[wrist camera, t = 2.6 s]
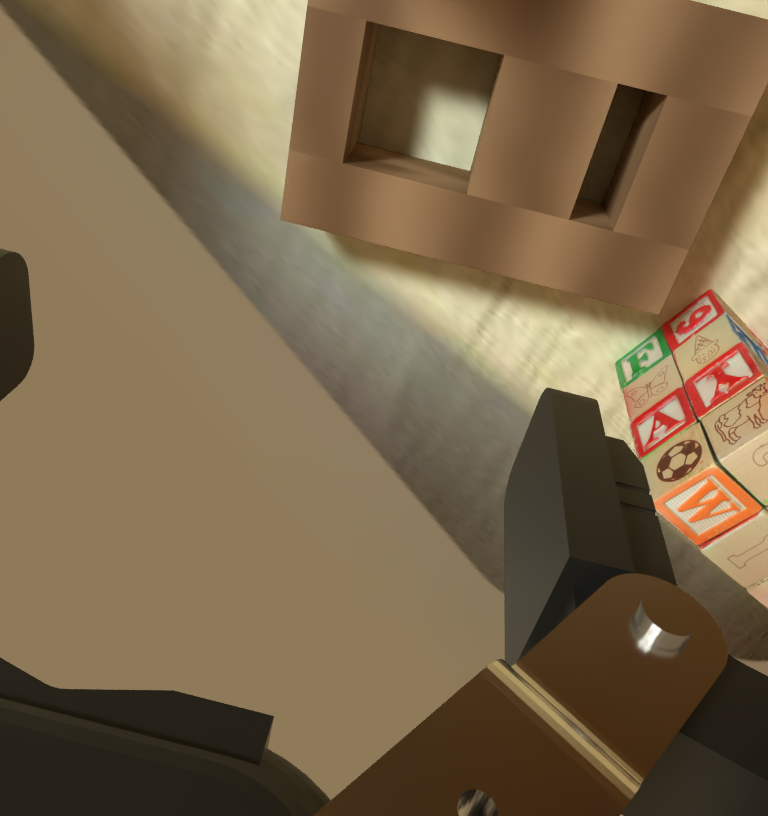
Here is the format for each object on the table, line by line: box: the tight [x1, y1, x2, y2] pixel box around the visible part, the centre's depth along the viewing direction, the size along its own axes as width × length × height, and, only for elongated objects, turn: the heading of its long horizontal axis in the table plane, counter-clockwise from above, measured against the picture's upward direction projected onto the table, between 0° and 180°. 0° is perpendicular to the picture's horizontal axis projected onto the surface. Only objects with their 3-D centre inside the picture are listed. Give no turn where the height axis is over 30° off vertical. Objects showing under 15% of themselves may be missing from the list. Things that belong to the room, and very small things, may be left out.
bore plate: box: [280, 0, 768, 315], centre depth 31 cm, size 18×12×4 cm, turn 78°
